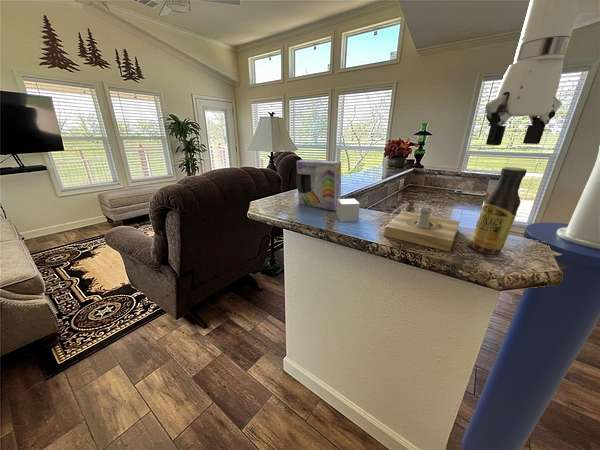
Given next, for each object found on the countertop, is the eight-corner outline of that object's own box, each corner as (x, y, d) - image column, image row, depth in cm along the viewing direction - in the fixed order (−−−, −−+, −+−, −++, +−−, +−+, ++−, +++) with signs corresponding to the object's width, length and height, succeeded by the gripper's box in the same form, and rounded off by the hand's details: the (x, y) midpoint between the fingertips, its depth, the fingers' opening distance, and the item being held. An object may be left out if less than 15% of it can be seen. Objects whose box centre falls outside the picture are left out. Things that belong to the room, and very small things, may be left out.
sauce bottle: (463, 246, 60) (485, 166, 52) (481, 242, 61) (504, 165, 54) (490, 258, 54) (519, 171, 46) (509, 253, 56) (539, 169, 48)
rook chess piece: (409, 232, 68) (414, 206, 65) (417, 228, 71) (421, 203, 68) (425, 237, 65) (431, 210, 62) (432, 233, 67) (438, 206, 64)
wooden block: (400, 219, 78) (402, 210, 77) (457, 230, 69) (459, 220, 68) (384, 236, 66) (385, 226, 65) (449, 251, 57) (452, 240, 56)
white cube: (340, 221, 77) (341, 204, 75) (336, 215, 83) (337, 199, 81) (358, 220, 78) (359, 203, 76) (353, 214, 83) (354, 198, 81)
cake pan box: (295, 203, 98) (294, 159, 91) (303, 200, 101) (303, 158, 95) (333, 212, 86) (335, 163, 79) (341, 209, 89) (343, 161, 83)
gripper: (555, 60, 52) (528, 142, 58) (484, 59, 50) (464, 144, 56) (599, 49, 45) (563, 144, 51) (519, 47, 43) (492, 146, 49)
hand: (511, 144), depth 54 cm, fingers open, 9 cm apart
